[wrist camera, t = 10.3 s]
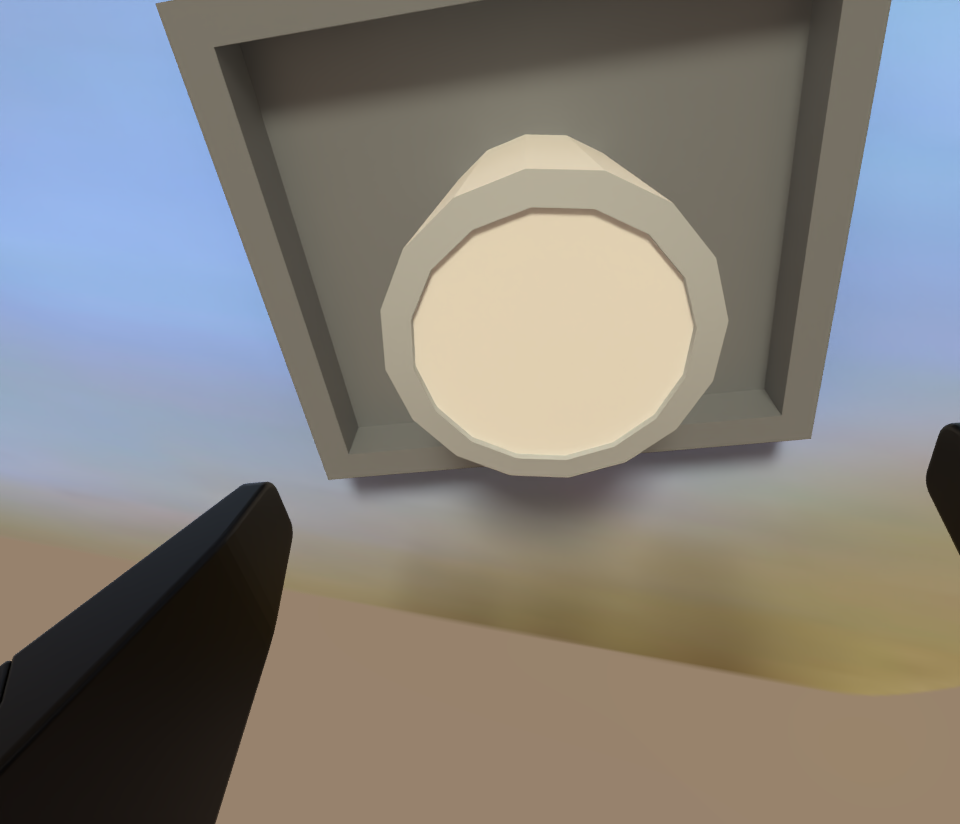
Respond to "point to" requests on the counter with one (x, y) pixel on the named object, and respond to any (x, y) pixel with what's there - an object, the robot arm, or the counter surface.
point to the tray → (536, 111)
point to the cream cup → (552, 313)
